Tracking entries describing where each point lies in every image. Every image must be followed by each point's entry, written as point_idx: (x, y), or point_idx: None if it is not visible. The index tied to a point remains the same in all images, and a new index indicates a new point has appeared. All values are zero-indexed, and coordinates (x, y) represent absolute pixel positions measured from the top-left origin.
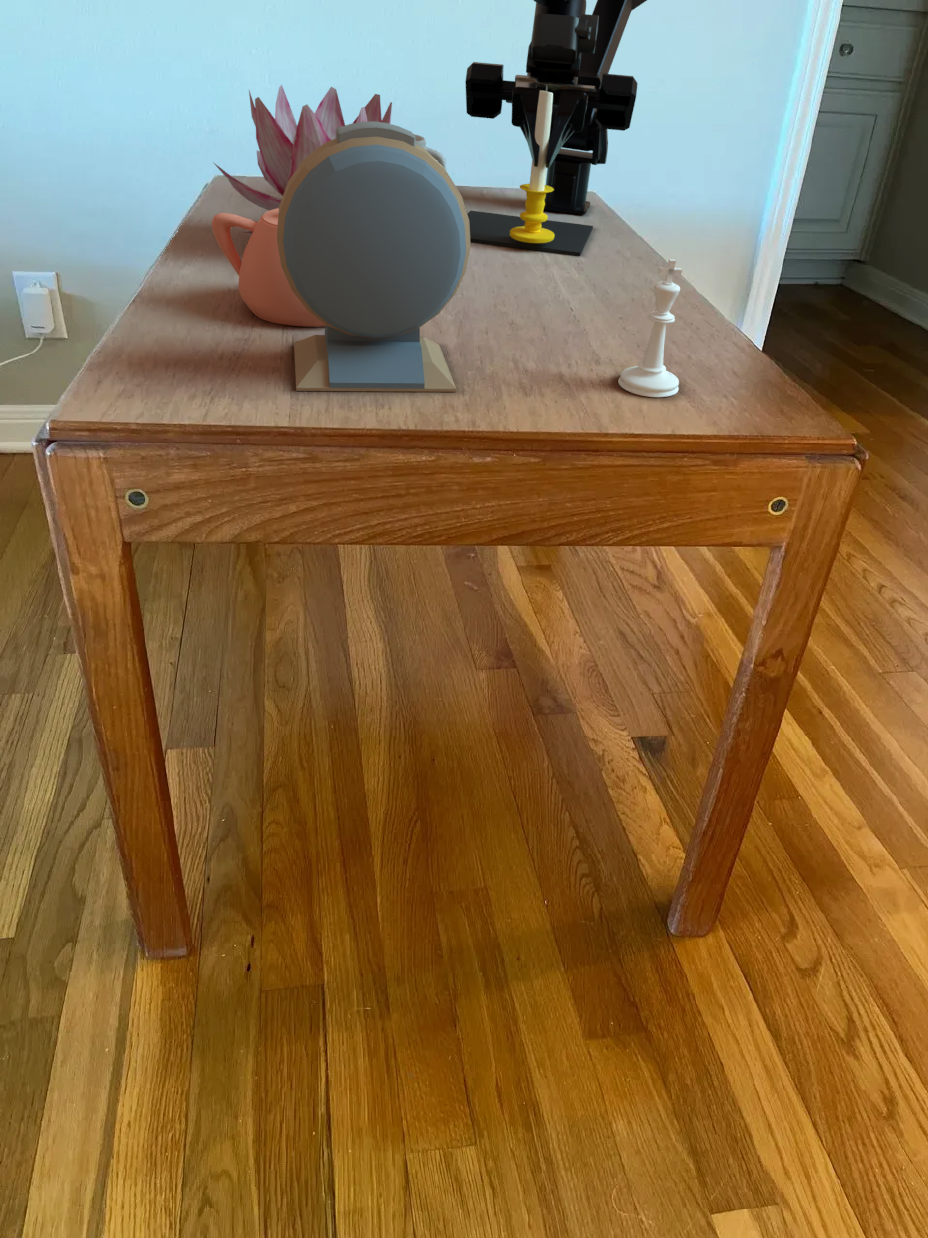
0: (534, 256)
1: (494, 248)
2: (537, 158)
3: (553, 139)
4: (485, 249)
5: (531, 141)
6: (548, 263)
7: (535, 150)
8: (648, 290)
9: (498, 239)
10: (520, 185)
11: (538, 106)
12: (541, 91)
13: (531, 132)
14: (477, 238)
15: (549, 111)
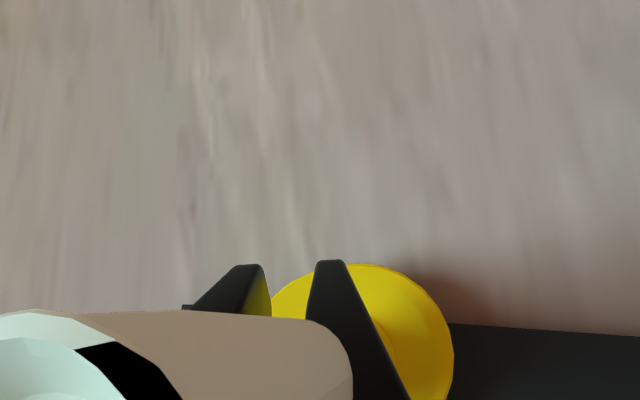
0: (338, 232)
1: (493, 278)
2: (322, 267)
3: None
4: (523, 248)
5: (379, 336)
6: (286, 167)
7: (338, 288)
8: (12, 27)
9: (496, 364)
10: (435, 381)
11: (288, 377)
12: (160, 366)
13: (389, 384)
14: (581, 344)
15: (125, 349)
